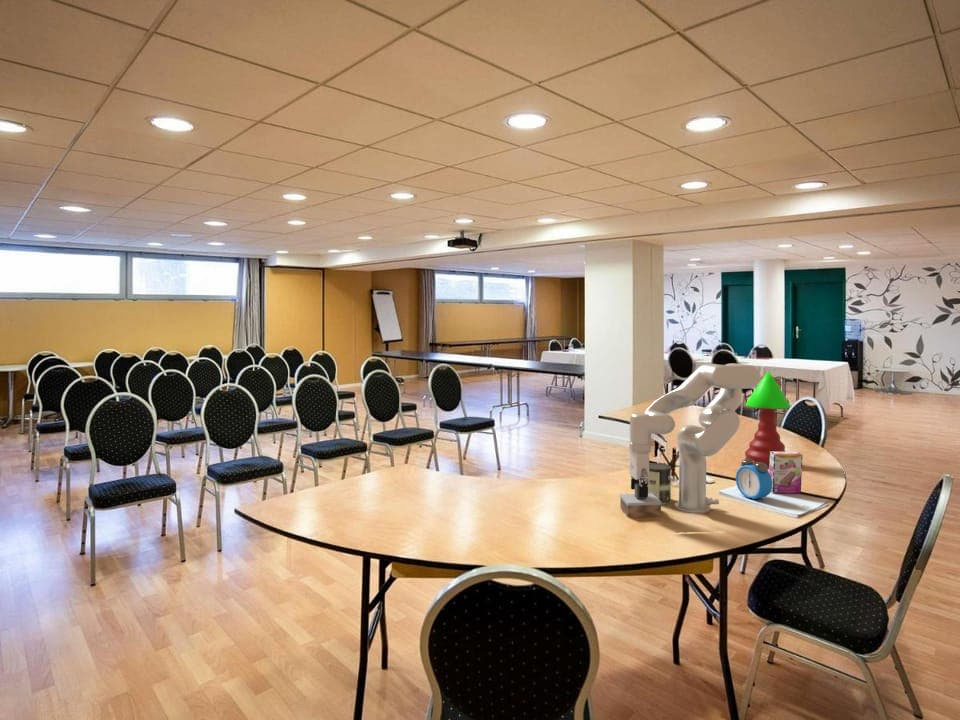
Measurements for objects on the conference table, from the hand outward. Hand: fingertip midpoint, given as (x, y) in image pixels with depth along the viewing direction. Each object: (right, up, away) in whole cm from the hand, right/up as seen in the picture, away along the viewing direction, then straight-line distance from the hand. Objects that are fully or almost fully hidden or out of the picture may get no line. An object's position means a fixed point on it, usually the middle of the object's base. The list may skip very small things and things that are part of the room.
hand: (639, 493), depth 216 cm
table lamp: (+80, -2, +69) cm, 106 cm away
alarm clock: (+50, -6, +17) cm, 53 cm away
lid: (+1, -3, 0) cm, 3 cm away
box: (+1, -8, +1) cm, 8 cm away
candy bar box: (+66, -5, +24) cm, 70 cm away
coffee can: (+11, -7, +15) cm, 20 cm away
